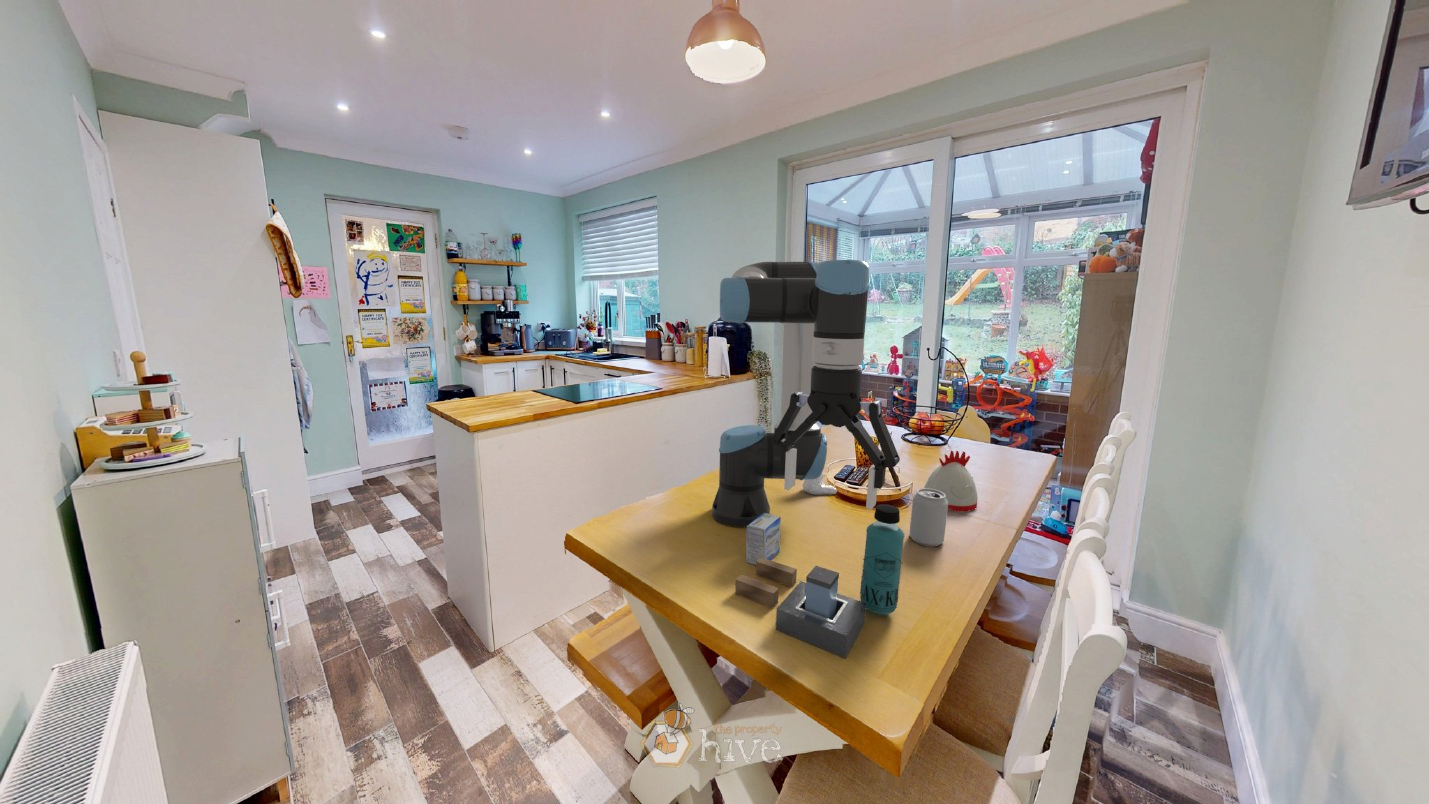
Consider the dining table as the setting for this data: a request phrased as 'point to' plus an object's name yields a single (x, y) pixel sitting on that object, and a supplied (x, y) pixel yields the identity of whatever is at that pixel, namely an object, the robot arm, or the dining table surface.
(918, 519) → the can
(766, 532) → the medicine box
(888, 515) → the beverage bottle
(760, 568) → the pair of wooden blocks
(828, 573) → the plug
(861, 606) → the port
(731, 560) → the dining table surface
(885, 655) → the dining table surface
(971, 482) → the red crested white hat
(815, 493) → the seated beast figurine
